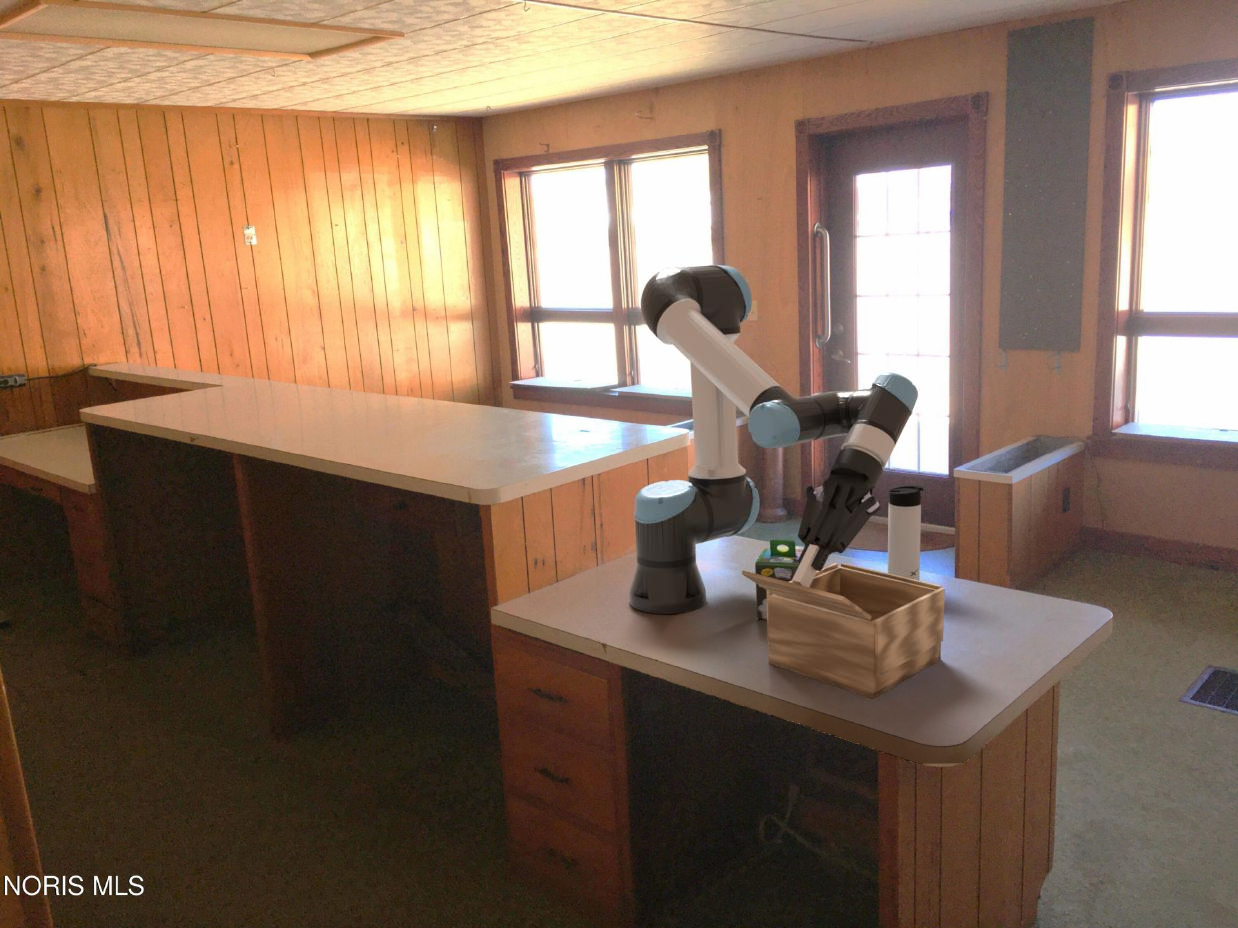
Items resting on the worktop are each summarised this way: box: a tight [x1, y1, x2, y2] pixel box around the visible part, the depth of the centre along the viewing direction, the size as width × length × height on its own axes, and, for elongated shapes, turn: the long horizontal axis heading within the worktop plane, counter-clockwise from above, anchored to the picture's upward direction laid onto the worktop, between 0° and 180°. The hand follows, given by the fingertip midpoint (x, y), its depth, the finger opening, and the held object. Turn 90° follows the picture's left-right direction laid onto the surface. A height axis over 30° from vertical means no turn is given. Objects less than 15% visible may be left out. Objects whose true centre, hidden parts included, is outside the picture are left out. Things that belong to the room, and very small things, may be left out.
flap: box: [741, 570, 872, 620], centre depth 153 cm, size 1×19×9 cm
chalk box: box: [754, 539, 803, 621], centre depth 187 cm, size 9×9×15 cm
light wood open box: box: [766, 562, 946, 699], centre depth 164 cm, size 21×21×12 cm
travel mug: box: [887, 485, 924, 580], centre depth 201 cm, size 6×7×20 cm
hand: (799, 585), depth 152 cm, fingers closed
